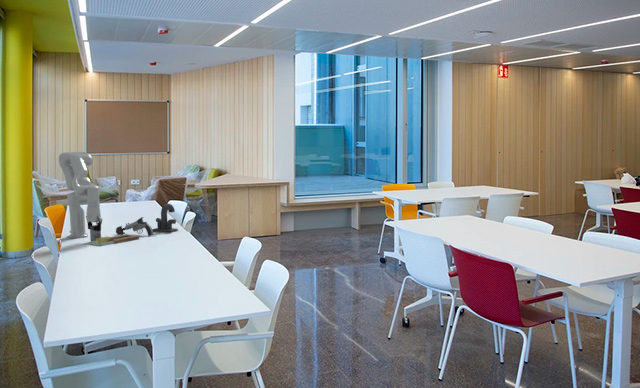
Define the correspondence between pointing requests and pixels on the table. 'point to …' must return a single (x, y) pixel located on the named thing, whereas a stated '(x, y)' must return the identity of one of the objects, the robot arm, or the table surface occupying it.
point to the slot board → (124, 238)
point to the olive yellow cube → (107, 239)
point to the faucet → (165, 220)
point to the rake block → (94, 233)
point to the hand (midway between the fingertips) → (94, 229)
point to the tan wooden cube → (100, 240)
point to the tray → (101, 243)
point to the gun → (136, 227)
